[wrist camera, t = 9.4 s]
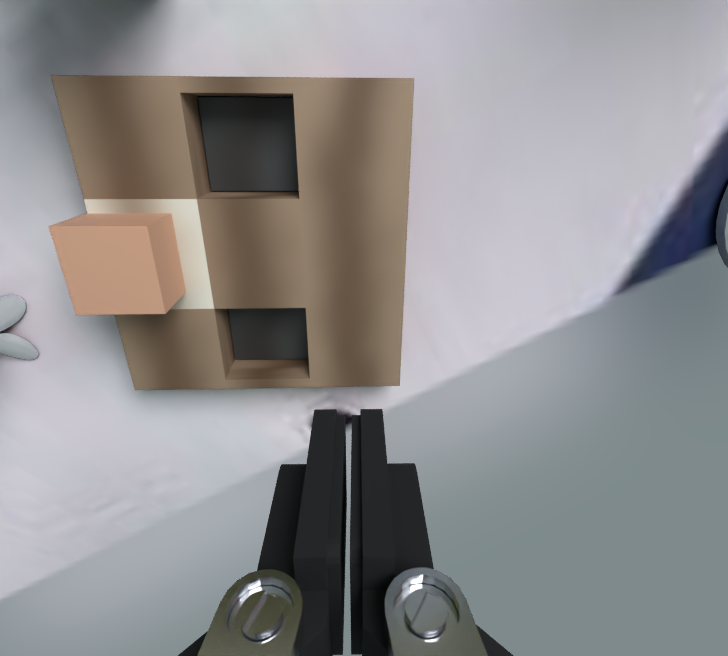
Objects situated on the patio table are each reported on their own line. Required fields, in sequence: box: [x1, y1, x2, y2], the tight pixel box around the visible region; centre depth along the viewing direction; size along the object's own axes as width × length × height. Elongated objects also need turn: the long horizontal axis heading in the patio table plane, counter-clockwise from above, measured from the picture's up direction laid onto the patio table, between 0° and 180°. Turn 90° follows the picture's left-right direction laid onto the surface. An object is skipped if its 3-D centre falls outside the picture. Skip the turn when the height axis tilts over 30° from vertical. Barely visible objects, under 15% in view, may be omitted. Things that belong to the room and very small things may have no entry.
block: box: [49, 213, 186, 315], centre depth 25 cm, size 5×5×4 cm
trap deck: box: [51, 75, 414, 390], centre depth 28 cm, size 19×20×3 cm
